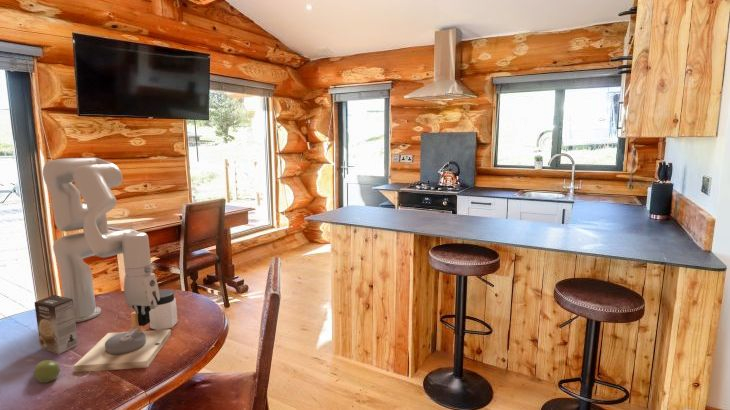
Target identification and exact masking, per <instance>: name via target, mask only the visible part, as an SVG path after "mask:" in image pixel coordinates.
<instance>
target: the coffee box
mask: <svg viewBox="0 0 730 410" xmlns="http://www.w3.org/2000/svg"><path fill="white" fill-rule="evenodd" d="M34 308H35V309H34V310H35V318H36V325H37V330H38V331H37V332H38V337H39V339H38V340H39V345H40V349H41V350H44V351H48V352H52V353H55V354H58V355H60V354H62V353H64V352H66V351H69V350H70V349H72V348H74V347H76V346H78V345H79V343H78V342H79V341H78V333H77V326H76V324H77V322H75V315H74V306H73V299H70V298H66V297H63V296H60V295H56V294H53V295H51V296H48V297H45V298H42V299H40V300H37V301H34Z"/></svg>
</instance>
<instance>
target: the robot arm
mask: <svg viewBox="0 0 730 410" xmlns="http://www.w3.org/2000/svg"><path fill="white" fill-rule="evenodd" d="M42 168H43V169H42V176H43V177H42V178H43V180H44V183H45V185H46V187H47V188H48V191H49V193H50V196H51V203H52V210H53V218H54V224H55V226H56V228H57V229H58V230H59V231H60V232H64V233H65V232H73V231H74V232H75V231H81V232H76V233H72V234H67V235H63V236H61V237H59V238H57V239H56V240H55V241H54V243H53V247H52V249H53V253H54V255H55V258H56V259H55V260H56V262H57V265H58V270H59V277H60V285H61V291H62V297H66V298H70V299H73V306H74V315H75V323H80V322H85V321H88V320H91V319H94V318H96V317H98V316H99V315H101V313H102V309H101V307H99V306H96V305H97V304H96V299H95V290H94V289H95V288H94V280H93V273H92V268H91V266H90V265H89V264H88V263H86V262H85V261H84V259H85V258H91V257H94V256H95V257H98V258H108V257H112V256H116V255H120V254H122V256H123V263H124V264H123V265H124V274H125V275H124V277H123V278H124V279H123V293H124V295H123V296H124V300H125V303H126V304H127V307H129V308H132V309H133V310H134V312H135V313H136V314H138V323H139V326H141V327H145V326H146V325H149V324H150V316H149V312H150V311H151V309H155V308H156V307H157V303H156V302H158V301H159V300H160V295H159V290H160V289H159V284H158V281H157V277H156V275H155V273H154V268H152V257H151V249H150V240H149V235H148V234H147V233H146V232H144V231H138V230H136V229H133V228H127V229H126V228H125V229H121V230H120V229H119V230H115V231H110V232H109V228H108V227H109V226H108V219H107V213H109V212H110V211H112V210H113V209H115V207H116V206H117V202H118V201H117V198H116V196H115V194H114V192H113V191H112V189H111V188H116V187H119V186H120V185H121V184H122V183H123V179H124V177H123V173H122V171H121V169H120V168H119V166H118V165H116V164H114V163H113V162H111V161H108V160H105V159H102V158H99V157H68V158H67V157H66V158H65V157H64V158H57V159H52V160H49V161H47V162H46V163H44V165H43V167H42ZM74 184H75V185H74ZM82 200H83V201H84V203H83V202H82ZM82 230H83V232H82Z"/></svg>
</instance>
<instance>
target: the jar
mask: <svg viewBox="0 0 730 410" xmlns="http://www.w3.org/2000/svg"><path fill="white" fill-rule="evenodd" d="M159 295H160V300H159V301H158V302H156V303H157V307H156V308H155V309H151V311H150V312H149V316H150V323H149V328H150V329H152V330H170V329H172V328H174V327H175V325H176V324H178V309H177V308H178V307H177V298H176V297H175V291H174V290H172V289H159Z"/></svg>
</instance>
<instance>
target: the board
mask: <svg viewBox="0 0 730 410" xmlns="http://www.w3.org/2000/svg"><path fill="white" fill-rule="evenodd" d="M171 329H172V328H169V329H164V330H155V329H152V330H141V332H143V333H144V334H145V337H146V343H145V345H144V346H142V347H141V348H139V349H137V350H135V351H133V352H130V353H126V354H119V355H112V354H108V353H107V352H106V350H105V342H106V341H107V340H108V339H110V338H111V337H113V336H115V335H118V334H121V333H125V332H126V331H121V332H120V331H119V332H117V331H116V332H107V333H106V335H104V337H102V338H101V339H100V340H99V341H98V342H97V343H96V344H95V345H94V346H93V347H91V349H89V351H88V352H86V354H84V355H83V356H82V357H81V358H80V359H79V360H78V361H77V362H76V363H75V364H74V365H73V372H74V373H80V372H82V373H83V372H95V371H96V372H97V371H98V372H99V371H110V370H111V371H112V370H127V369H143V368H144V369H145V368H149V366H150V365H151V364H152V362H153V361H154V360H155V358H156V356H157V355H158V354H159V353H160V350H161V349H162V348H163V347H164V345H165V344H166V343H167V342H168V340H169V338H170V337H171V335H172V331H171Z"/></svg>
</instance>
